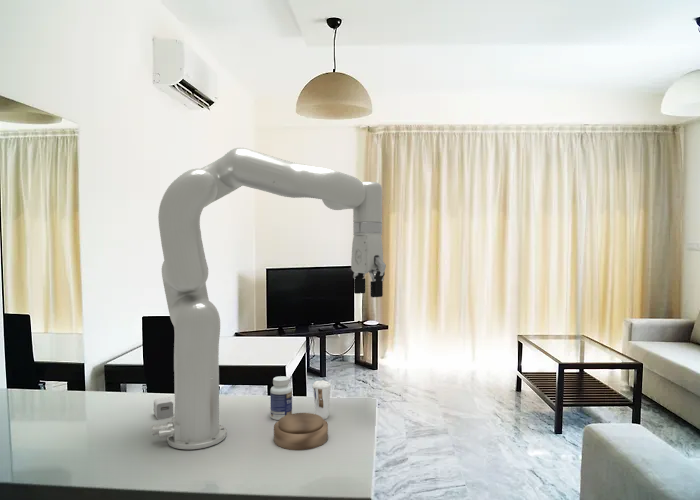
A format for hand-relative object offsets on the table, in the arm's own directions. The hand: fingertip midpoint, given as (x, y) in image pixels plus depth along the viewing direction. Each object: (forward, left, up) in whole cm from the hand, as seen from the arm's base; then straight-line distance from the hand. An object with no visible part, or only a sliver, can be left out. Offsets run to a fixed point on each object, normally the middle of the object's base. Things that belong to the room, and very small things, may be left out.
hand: (367, 295), depth 127 cm
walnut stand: (-22, -10, -30) cm, 39 cm away
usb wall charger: (-49, +20, -30) cm, 61 cm away
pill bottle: (-22, +5, -30) cm, 38 cm away
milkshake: (-13, 0, -30) cm, 33 cm away
